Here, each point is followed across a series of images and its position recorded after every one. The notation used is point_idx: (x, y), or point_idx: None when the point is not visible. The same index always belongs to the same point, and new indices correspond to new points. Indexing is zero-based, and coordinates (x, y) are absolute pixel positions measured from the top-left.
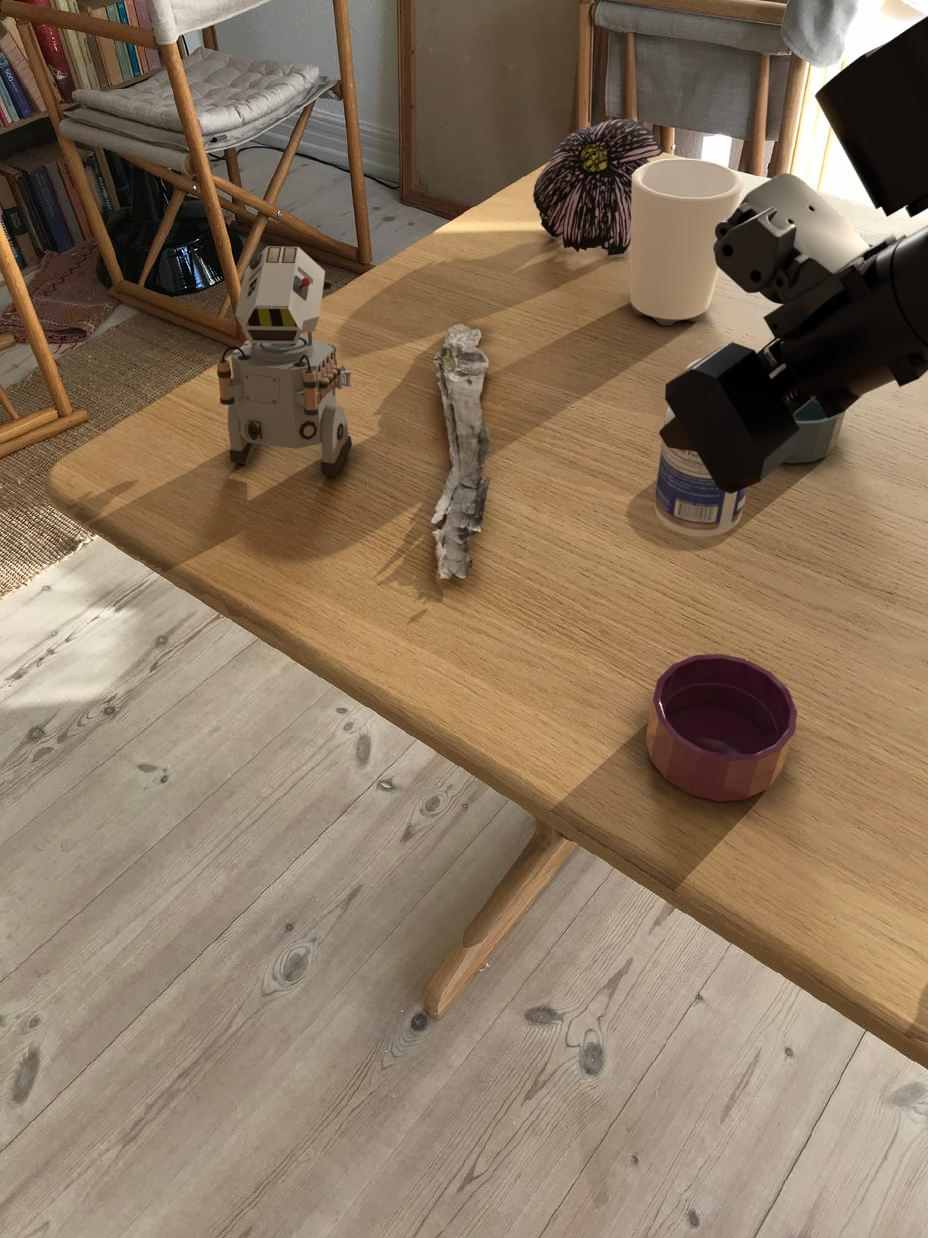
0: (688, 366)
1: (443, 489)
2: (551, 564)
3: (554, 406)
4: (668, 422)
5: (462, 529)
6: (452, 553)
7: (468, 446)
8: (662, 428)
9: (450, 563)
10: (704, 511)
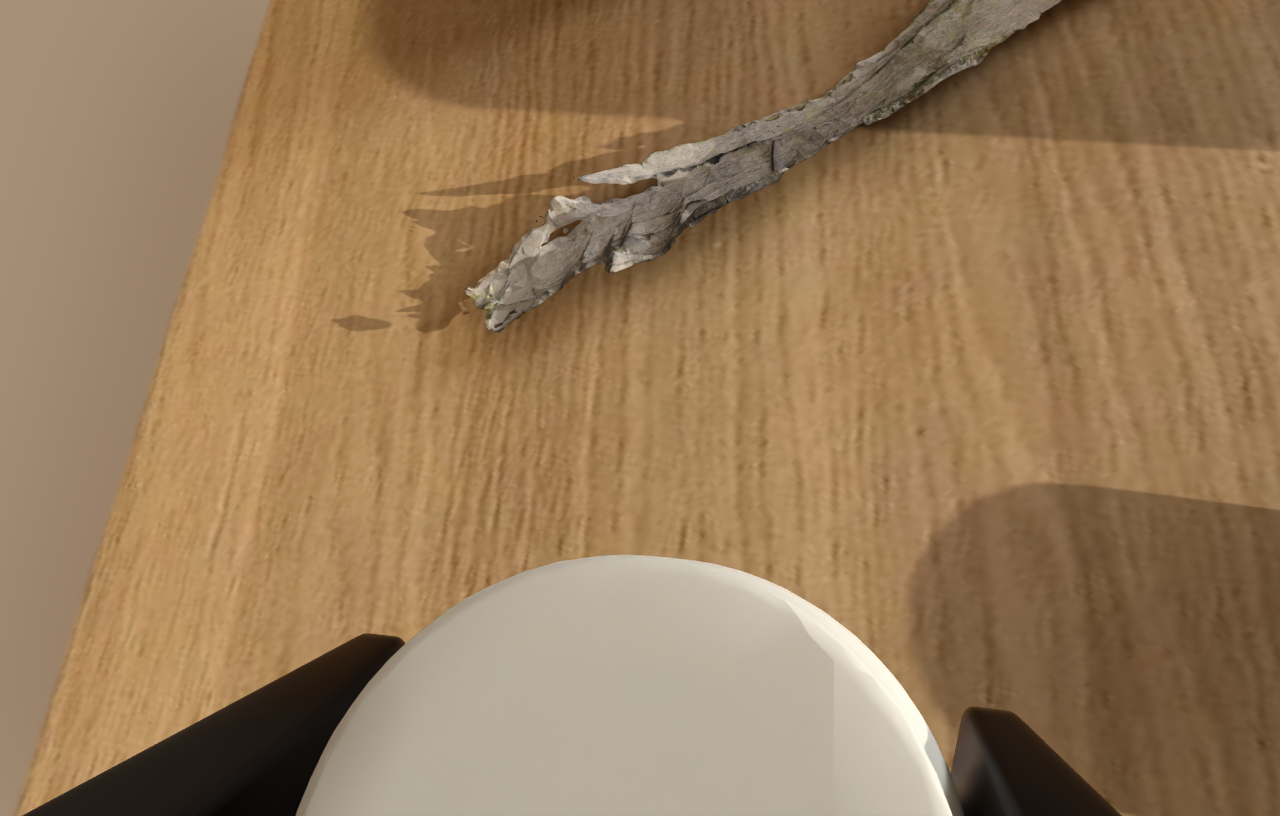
0: (582, 568)
1: (732, 128)
2: (669, 453)
3: (1225, 125)
4: (256, 690)
5: (625, 236)
6: (551, 265)
7: (898, 77)
8: (327, 653)
9: (521, 280)
10: None
